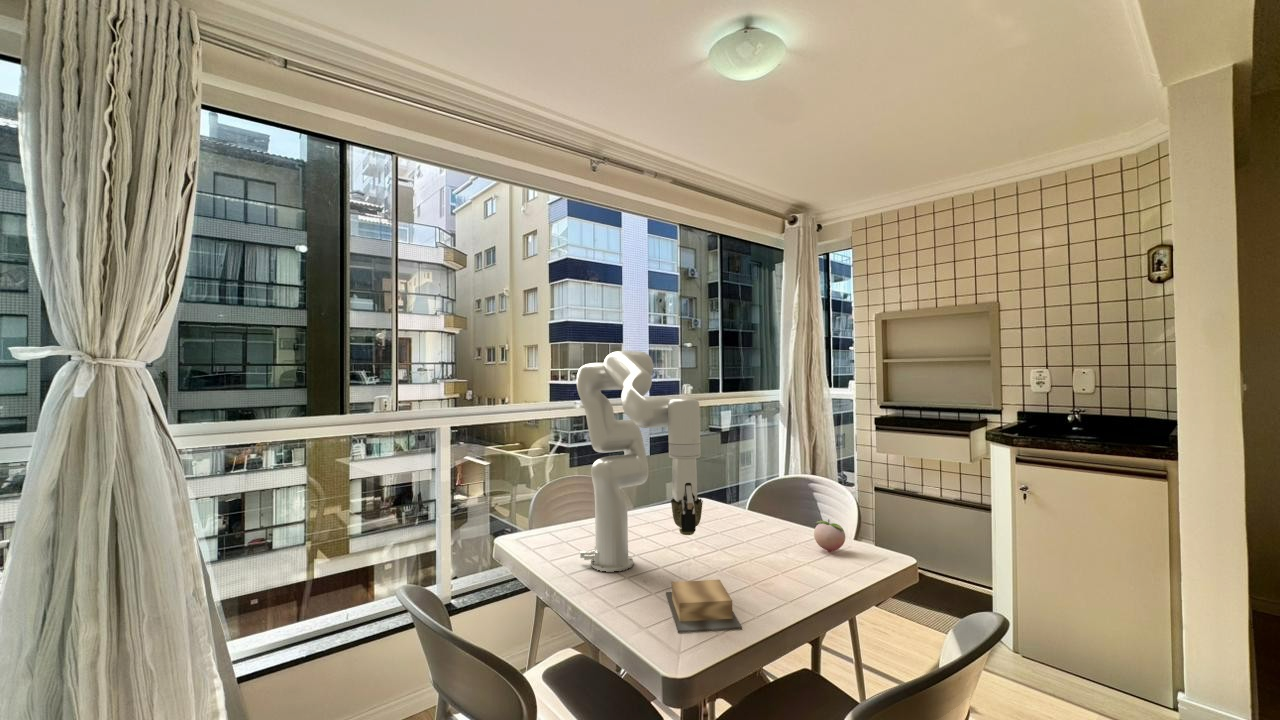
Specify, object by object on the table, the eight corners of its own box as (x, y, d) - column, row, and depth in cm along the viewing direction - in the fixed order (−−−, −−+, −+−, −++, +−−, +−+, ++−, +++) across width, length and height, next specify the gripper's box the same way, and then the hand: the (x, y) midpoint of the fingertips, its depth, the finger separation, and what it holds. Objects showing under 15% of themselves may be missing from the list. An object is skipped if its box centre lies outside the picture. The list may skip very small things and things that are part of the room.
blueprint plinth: (678, 632, 110) (677, 611, 110) (665, 593, 130) (665, 575, 130) (742, 629, 111) (741, 608, 111) (720, 591, 131) (719, 573, 131)
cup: (669, 529, 124) (669, 496, 125) (699, 528, 125) (699, 495, 125) (673, 538, 117) (673, 503, 117) (705, 538, 117) (705, 502, 118)
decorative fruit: (809, 552, 158) (808, 520, 159) (819, 545, 164) (818, 514, 165) (840, 559, 152) (839, 525, 152) (849, 552, 158) (848, 519, 159)
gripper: (665, 446, 130) (666, 517, 129) (672, 456, 112) (674, 539, 112) (694, 445, 130) (696, 516, 129) (706, 455, 113) (708, 537, 112)
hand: (686, 526), depth 121 cm, fingers closed on cup, 6 cm apart
